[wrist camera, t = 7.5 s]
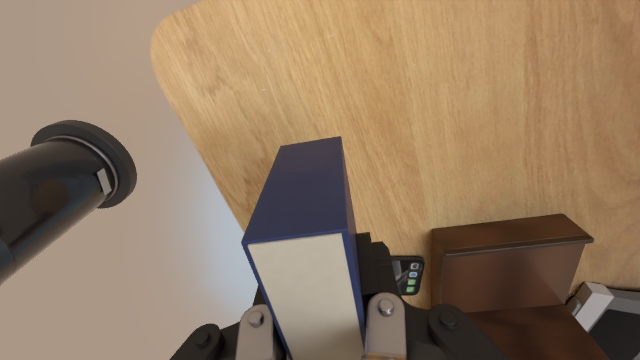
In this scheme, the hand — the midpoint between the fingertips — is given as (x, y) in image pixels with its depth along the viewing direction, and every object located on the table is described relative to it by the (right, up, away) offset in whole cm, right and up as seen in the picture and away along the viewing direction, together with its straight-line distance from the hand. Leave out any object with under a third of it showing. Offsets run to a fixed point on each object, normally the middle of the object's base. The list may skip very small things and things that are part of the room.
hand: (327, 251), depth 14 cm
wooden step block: (+24, -11, +28) cm, 38 cm away
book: (0, +1, +2) cm, 2 cm away
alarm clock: (+45, -19, +32) cm, 58 cm away
